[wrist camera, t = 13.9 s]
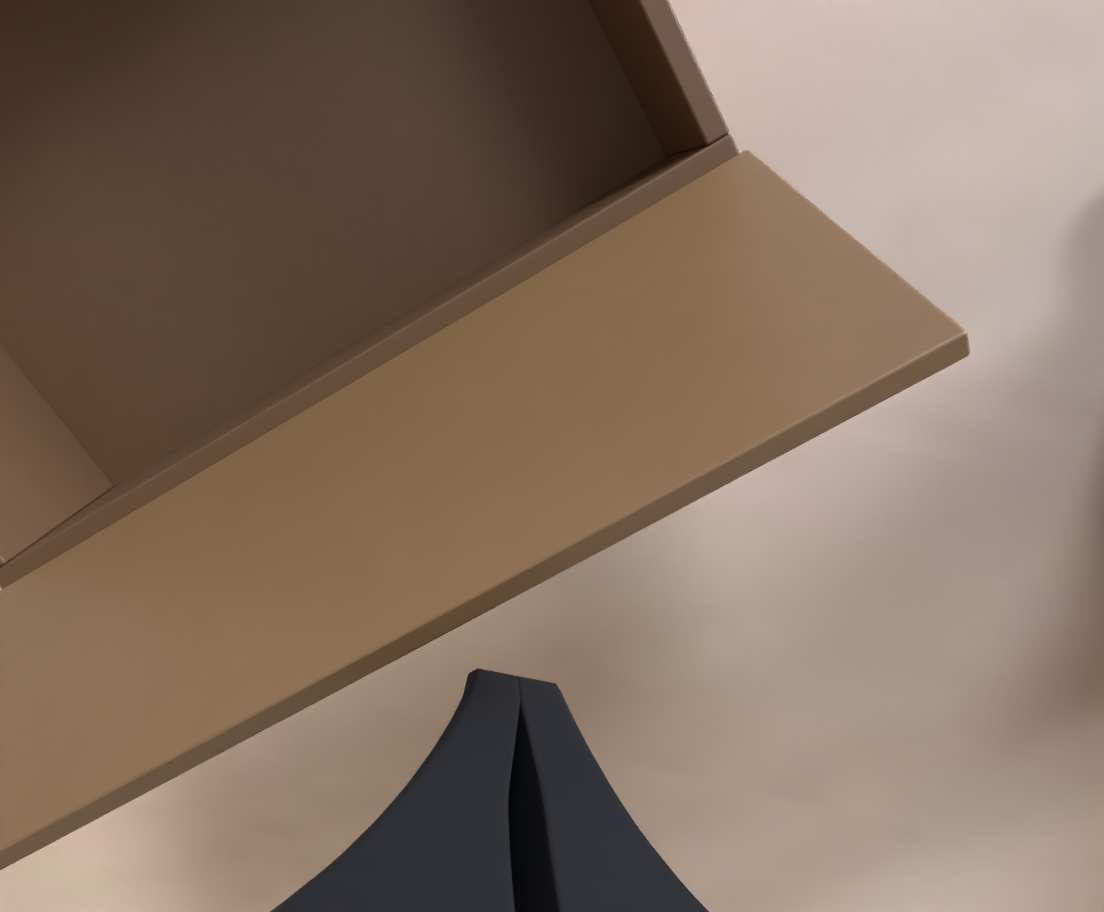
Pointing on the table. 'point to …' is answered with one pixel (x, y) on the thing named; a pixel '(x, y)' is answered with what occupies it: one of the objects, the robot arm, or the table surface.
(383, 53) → the carton
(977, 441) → the table surface
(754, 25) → the table surface
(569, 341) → the flap
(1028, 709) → the table surface
